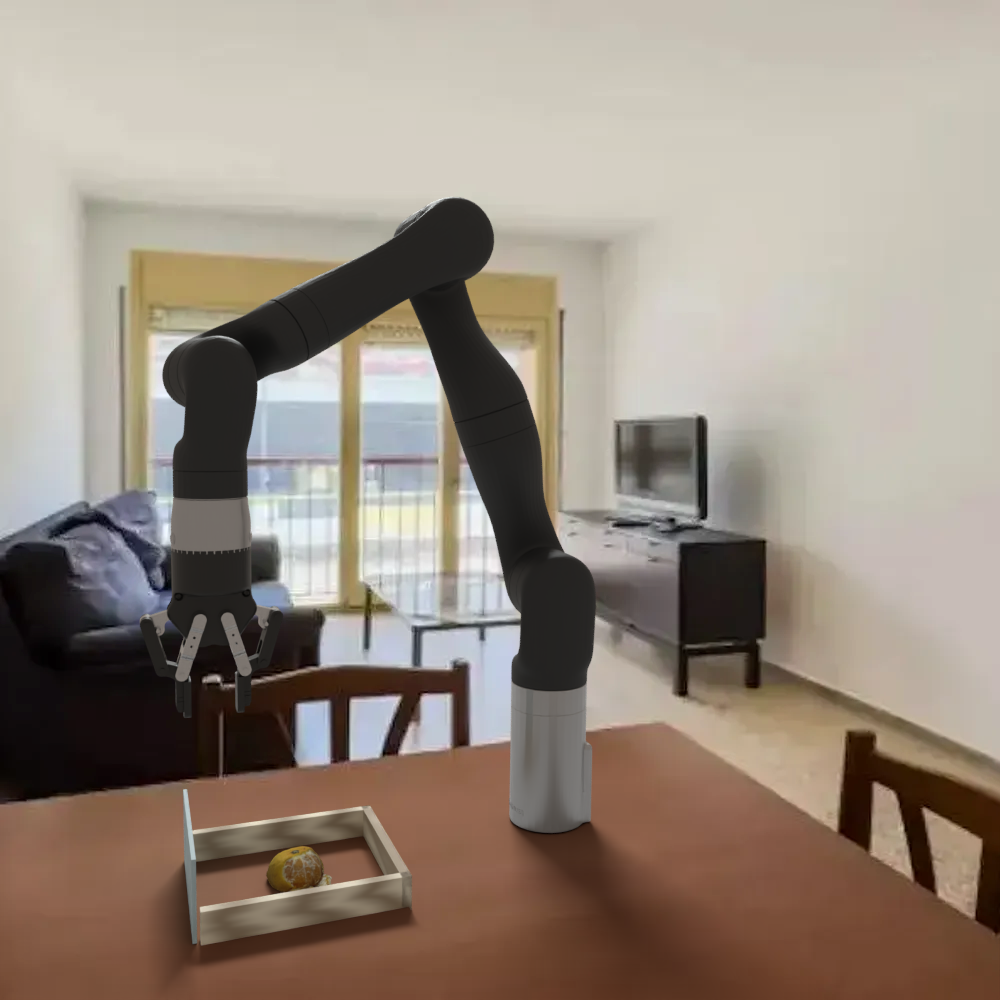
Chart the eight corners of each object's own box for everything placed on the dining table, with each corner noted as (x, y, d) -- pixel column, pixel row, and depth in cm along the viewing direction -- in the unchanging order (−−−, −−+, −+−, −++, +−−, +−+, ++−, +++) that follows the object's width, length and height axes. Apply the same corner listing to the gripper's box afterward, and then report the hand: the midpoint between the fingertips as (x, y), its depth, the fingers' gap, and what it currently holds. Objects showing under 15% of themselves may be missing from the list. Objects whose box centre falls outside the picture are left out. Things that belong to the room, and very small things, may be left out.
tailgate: (188, 860, 100) (187, 789, 99) (197, 943, 84) (195, 859, 83) (184, 860, 100) (183, 789, 99) (192, 944, 84) (191, 860, 83)
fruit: (299, 918, 90) (299, 882, 90) (245, 892, 95) (245, 857, 94) (359, 884, 97) (359, 851, 96) (306, 862, 101) (306, 830, 101)
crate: (369, 834, 108) (369, 805, 108) (411, 909, 91) (411, 875, 91) (190, 861, 101) (190, 830, 100) (200, 949, 84) (200, 912, 84)
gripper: (280, 536, 96) (281, 695, 97) (133, 540, 91) (136, 709, 92) (291, 545, 89) (292, 716, 90) (133, 550, 84) (136, 732, 85)
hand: (213, 712), depth 91 cm, fingers open, 4 cm apart
